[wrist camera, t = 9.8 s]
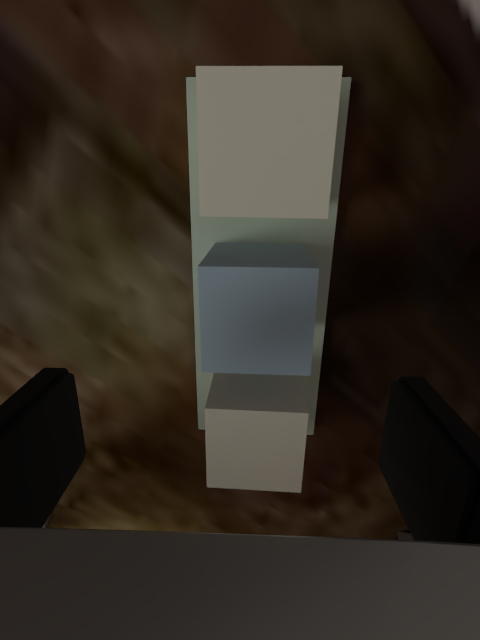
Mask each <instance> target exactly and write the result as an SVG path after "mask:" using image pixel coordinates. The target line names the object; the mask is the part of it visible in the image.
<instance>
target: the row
mask: <svg viewBox="0 0 480 640" xmlns="http://www.w3.org/2000/svg"><path fill="white" fill-rule="evenodd" d="M342 68H343V66H196V77H186V89H187V118H188V147H189V176H190V205H191V234H192V263H193V292H194V321H195V350H196V379H197V408H198V429H204V430H205V438H206V477H207V487H211V488H228V489H245V490H262V491H279V492H296V493H301V486H302V476H303V466H304V456H305V445H306V435H313V434H314V424H315V415H316V405H317V396H318V387H319V377H320V368H321V358H322V349H323V340H324V330H325V321H326V311H327V302H328V293H329V283H330V274H331V264H332V255H333V246H334V236H335V227H336V218H337V208H338V199H339V189H340V180H341V171H342V161H343V152H344V142H345V133H346V124H347V114H348V105H349V95H350V86H351V77H342ZM215 243H281V244H304V245H305V246H306V248H307V249H308V251H309V253H310V254H311V256H312V257H313V259H314V261H315V262H316V264H317V265H318V267H319V278H318V290H317V302H316V314H315V326H314V338H313V350H312V362H311V374H310V376H301V375H270V374H239V373H208V372H202V362H201V337H200V313H199V288H198V265H199V264H200V263H201V261H202V260H203V259H204V257H205V256H206V255H207V253H208V252H209V251H210V249H211V248H212V247H213V245H214V244H215Z"/></svg>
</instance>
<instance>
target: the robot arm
mask: <svg viewBox="0 0 480 640" xmlns="http://www.w3.org/2000/svg"><path fill="white" fill-rule="evenodd" d="M85 451H86V449H85V442H84V435H83V429H82V423H81V416H80V410H79V403H78V397H77V391H76V384H75V378H74V375H73V374H72V373H69V372H68V370H67V369H66V368H44V369H42V370H41V371H40V372H39V373H37V374H36V375H35V376H34V377H33V378H32V379H30V380H29V381H28V382H27V383H26V384H25V385H24V386H22V387H21V388H20V389H19V390H18V391H17V392H15V393H14V394H13V395H12V396H11V397H10V398H8V399H7V400H6V401H5V402H4V403H3V404H1V405H0V640H480V438H479V437H478V436H477V435H476V434H475V433H474V432H473V431H472V430H471V429H470V427H469V426H468V425H467V424H466V423H465V422H464V421H463V420H462V419H461V418H460V417H459V416H458V414H457V413H456V412H455V411H454V410H453V409H452V408H451V407H450V406H449V405H448V404H447V403H446V402H445V400H444V399H443V398H442V397H441V396H440V395H439V394H438V393H437V392H436V391H435V390H434V389H433V388H432V386H431V385H430V384H429V383H428V382H427V381H426V380H425V379H424V378H423V377H400V378H399V380H398V381H395V382H393V384H392V388H391V394H390V399H389V405H388V411H387V416H386V422H385V428H384V433H383V439H382V445H381V450H380V456H379V463H380V469H381V471H382V473H383V475H384V478H385V480H386V482H387V484H388V486H389V488H390V490H391V493H392V495H393V497H394V499H395V501H396V503H397V505H398V507H399V510H400V512H401V514H402V516H403V518H404V520H405V522H406V524H407V527H408V529H409V531H410V533H411V535H412V537H413V539H414V540H388V539H363V538H337V537H311V536H284V535H256V534H227V533H197V532H166V531H134V530H100V529H64V528H46V527H47V525H48V522H49V519H50V514H51V512H52V511H53V509H54V508H55V506H56V504H57V503H58V501H59V499H60V498H61V496H62V495H63V493H64V491H65V490H66V488H67V486H68V485H69V483H70V482H71V480H72V478H73V477H74V475H75V473H76V472H77V470H78V469H79V467H80V465H81V464H82V462H83V460H84V457H85Z"/></svg>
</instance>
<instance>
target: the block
mask: <svg viewBox="0 0 480 640" xmlns="http://www.w3.org/2000/svg"><path fill="white" fill-rule="evenodd" d="M318 278H319V267H318V265H317V264H316V262H315V261H314V259H313V257H312V256H311V254H310V253H309V251H308V249H307V248H306V246H305V245H304V244H281V243H215V244H214V245H213V247H212V248H211V249H210V251H209V252H208V253H207V255H206V256H205V257H204V259H203V260H202V261H201V263H200V264H199V265H198V288H199V313H200V337H201V362H202V372H208V373H239V374H270V375H301V376H310V374H311V362H312V350H313V338H314V326H315V314H316V302H317V290H318Z"/></svg>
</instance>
